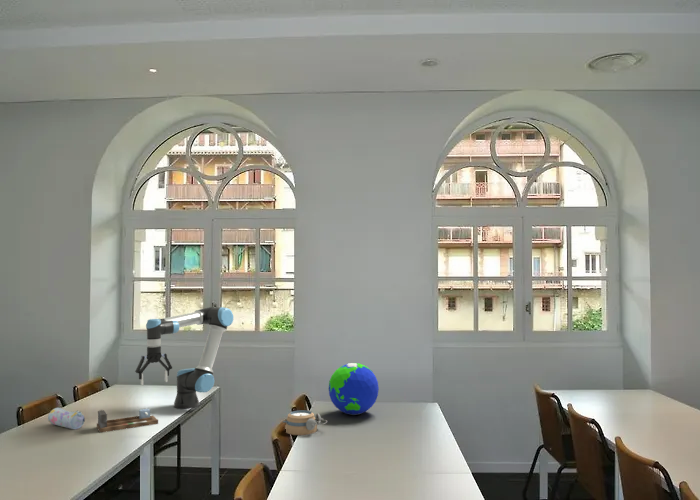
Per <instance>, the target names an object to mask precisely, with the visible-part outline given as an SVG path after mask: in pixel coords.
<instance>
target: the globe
mask: <svg viewBox="0 0 700 500" xmlns="http://www.w3.org/2000/svg"><path fill="white" fill-rule="evenodd" d="M328 395H329V397H330V401H331V403H332V404H333V405H334V407H335V408H336V409H338V410H339V411H340V412H343V413H344V414H346V415H350V416H356V415H360V414H363V413H366V412H368V411H369V410H370V409H371V408H372V407H373V406H374V404H375V403H376V401H377V399H378V396H379V381H378V379H377V376H376V375H375V373H374V372H373V370H371V369H370V368H369V367H368V366H366V365H364V364H361V363H356V362H351V363H350V362H348V363H346V364H343V365H340V366H339V367H338V368H337V369H336V370H335V371H334V372H333V373H332V374H331V377H330V379H329V382H328Z"/></svg>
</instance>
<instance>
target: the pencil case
mask: <svg viewBox="0 0 700 500" xmlns="http://www.w3.org/2000/svg"><path fill="white" fill-rule="evenodd" d="M47 420H48V422H49V423H50V425H53V426H59V427H62V428H66V429H70V430H78V429H80V428H81V427H82V426H84V424H85V420H86V418H85V416H84V414H83V412H81V411H79V410H76V411H68V410H66V409H63V408H61V407H55V408H53V409H52V410H50V411H49V413H48V416H47Z"/></svg>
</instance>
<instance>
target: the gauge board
mask: <svg viewBox="0 0 700 500" xmlns="http://www.w3.org/2000/svg"><path fill="white" fill-rule="evenodd" d="M152 425H159V419H158V418H156V417H155V416H154V415H150V417H149V418H142V419H139V415H136V416H134V415H133V416H129V417H121V418H113V419H109V420H108V413H107V412H106V411H105V410H103V409H101V410H98V411H97V423H96V428H97V430H98V431H100V432H101V433H107V432H113V430H114V431H119V430H120V429H121V430H126V428H127V429H132V428H133V427H134V428H140V427H146V426H152ZM134 428H133V429H134ZM106 431H107V432H106ZM100 432H99V433H100Z"/></svg>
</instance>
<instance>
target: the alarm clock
mask: <svg viewBox="0 0 700 500" xmlns="http://www.w3.org/2000/svg"><path fill="white" fill-rule="evenodd" d="M322 421H324V423H321V422H322ZM282 423H285V425H284V430H285V429H286V432H285V433H286V434H288V435H292V436H306V435H312V434H314V433H316V432H317V431H318V425H319V426H321V425H322V426H323V425H325V424H327V423H328V420H326V419H324V417H321V414H320V413H319V412H318V413H316V415H315V414H314V413H313V411H309V410H299V409H298V410H294V411H290V412H289V413H288V414H287V418H286V420H284V421H282Z"/></svg>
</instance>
